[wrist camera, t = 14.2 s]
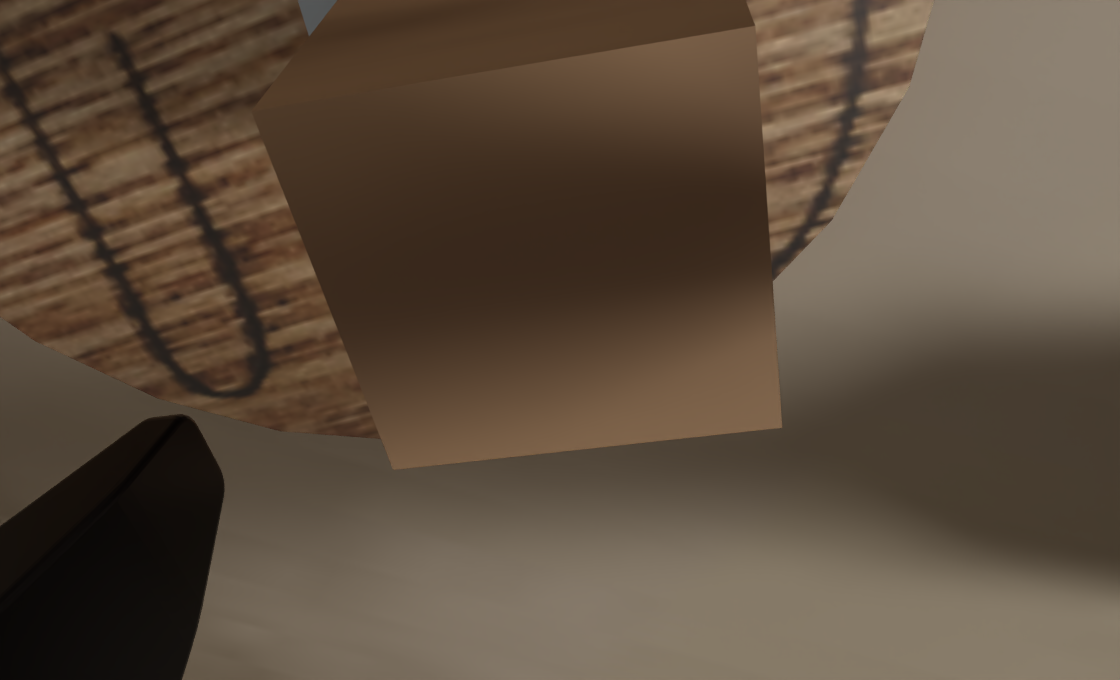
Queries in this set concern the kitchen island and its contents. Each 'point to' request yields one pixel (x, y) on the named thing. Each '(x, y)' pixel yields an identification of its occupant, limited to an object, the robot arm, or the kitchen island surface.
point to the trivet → (261, 207)
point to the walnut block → (536, 219)
